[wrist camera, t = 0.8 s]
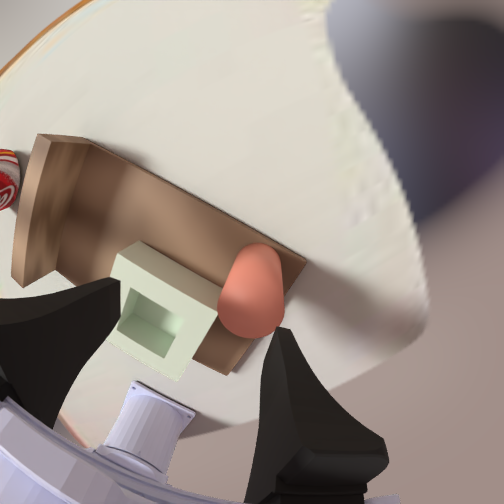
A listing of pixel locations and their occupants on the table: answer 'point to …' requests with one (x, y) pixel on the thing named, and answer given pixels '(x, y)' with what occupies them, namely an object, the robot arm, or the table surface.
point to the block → (161, 309)
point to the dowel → (253, 293)
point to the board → (126, 228)
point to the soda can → (8, 178)
